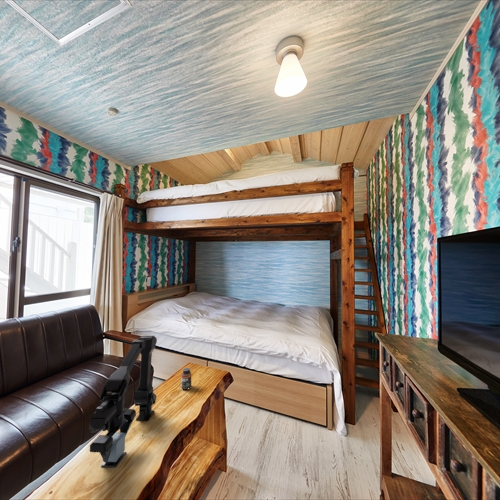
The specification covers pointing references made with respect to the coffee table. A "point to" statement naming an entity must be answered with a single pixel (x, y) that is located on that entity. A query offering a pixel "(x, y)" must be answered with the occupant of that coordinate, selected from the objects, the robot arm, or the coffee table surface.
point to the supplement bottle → (186, 378)
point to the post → (113, 464)
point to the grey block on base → (117, 447)
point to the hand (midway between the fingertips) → (114, 450)
